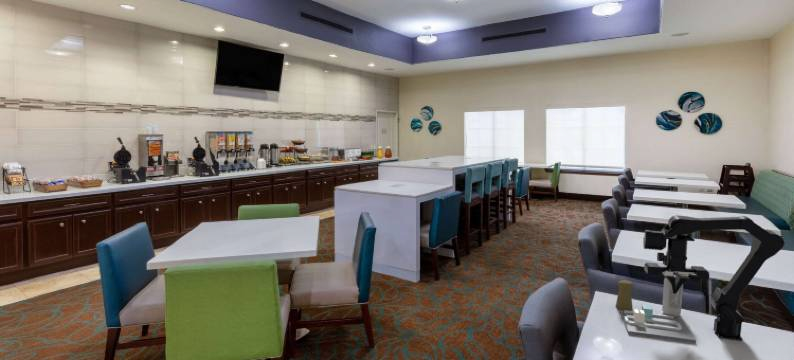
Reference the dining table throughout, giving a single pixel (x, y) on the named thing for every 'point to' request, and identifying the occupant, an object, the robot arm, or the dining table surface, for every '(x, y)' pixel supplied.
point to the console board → (658, 326)
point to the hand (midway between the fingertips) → (674, 293)
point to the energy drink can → (671, 300)
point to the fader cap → (639, 316)
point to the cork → (624, 295)
